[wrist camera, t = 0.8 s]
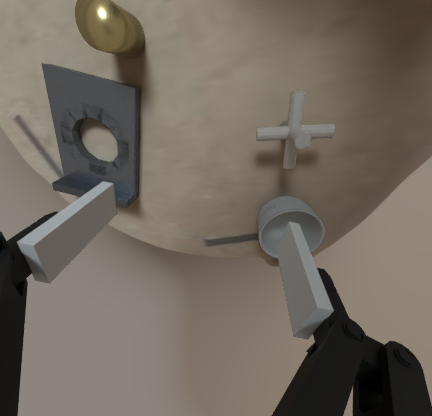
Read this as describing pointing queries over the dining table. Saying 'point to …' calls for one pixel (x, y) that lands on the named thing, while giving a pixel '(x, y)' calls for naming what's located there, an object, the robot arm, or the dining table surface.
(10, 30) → the dining table surface
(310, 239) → the teacup
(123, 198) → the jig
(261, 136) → the pipe connector
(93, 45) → the gold round-ended peg
